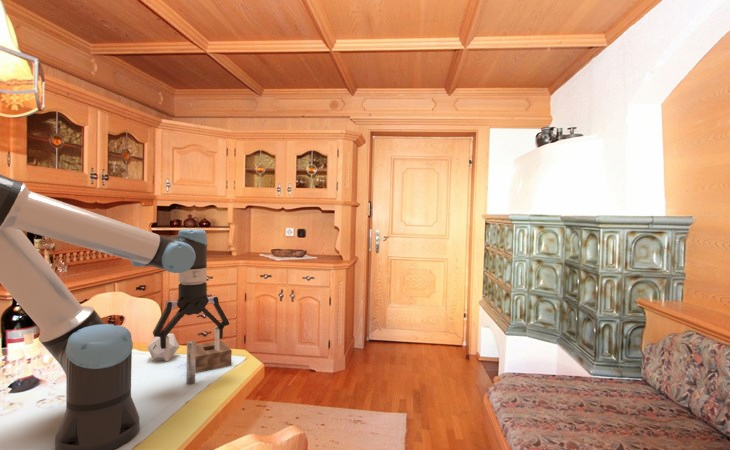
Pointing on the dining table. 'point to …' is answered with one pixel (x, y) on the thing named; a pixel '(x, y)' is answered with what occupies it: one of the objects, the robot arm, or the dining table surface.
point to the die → (157, 351)
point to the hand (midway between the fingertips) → (192, 354)
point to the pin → (191, 362)
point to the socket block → (212, 356)
